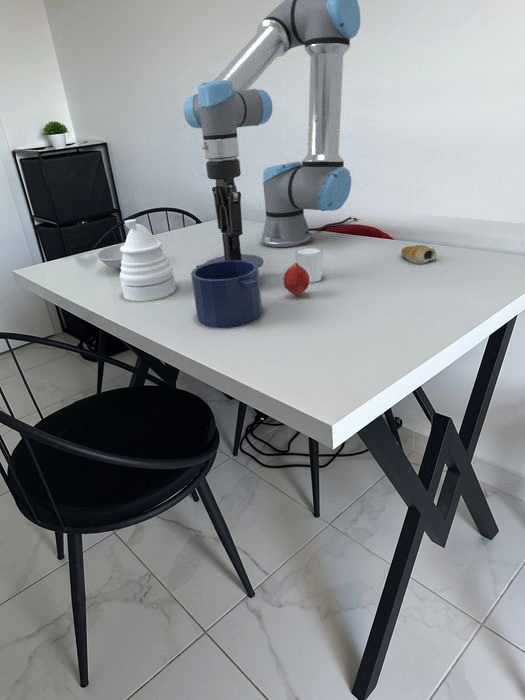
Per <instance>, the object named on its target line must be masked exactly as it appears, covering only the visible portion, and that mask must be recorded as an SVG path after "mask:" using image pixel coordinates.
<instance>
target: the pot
mask: <svg viewBox="0 0 525 700" xmlns="http://www.w3.org/2000/svg"><path fill="white" fill-rule="evenodd" d="M190 276H191V283H192V284H191V285H192V290H193V297H194V303H195V310H196V316H197V320H198V322H199V323H200V324H201V325H204V326H206V327H210V328H217V329H227V328H235V327H237V328H238V327H241V326H245V325H247V324H251V323H253V322H255V321H256V320H258V319H259V318H260V317H261V316H262V312H263V305H262V294H261V282H260V270H259V268H258V266H257V265H256V264H255V263H253V262H249V261H243V260H225V261H218V262H212V263H208V264H206V262H204V263H202V264H199V265H196V267H195V268H194V269H192V271H191V273H190Z"/></svg>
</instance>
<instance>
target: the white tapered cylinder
mask: <svg viewBox="0 0 525 700" xmlns="http://www.w3.org/2000/svg"><path fill="white" fill-rule="evenodd" d="M294 257H295V262H298V264H299V266H301V267H302V268H304V269H305V270H306V272H307V273H308V275H309V279H310V280H309V283H317V282H320V281H321V280H322V277H323V273H322V272H323V260H324V259H323V258H324V249H322V248H318V247H303V248H299V249H297V250H295V252H294Z"/></svg>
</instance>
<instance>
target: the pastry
mask: <svg viewBox="0 0 525 700" xmlns="http://www.w3.org/2000/svg"><path fill="white" fill-rule="evenodd" d="M400 254H401V255H402V257H403V258H404V259H405V260H406V261H408V262H410V263H413V264H418V265H419V264H420V265H423V264H426V263H428V262H432V261H434V260H435V259H436V258H437V251H436V249H435V248H434V247H429V246H427V245H423V244H421V245H419V244H418V245H410V246H405V247H403V248H401V251H400Z"/></svg>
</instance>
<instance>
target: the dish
mask: <svg viewBox="0 0 525 700" xmlns="http://www.w3.org/2000/svg"><path fill="white" fill-rule="evenodd" d="M123 245H125V243H120V244H115V245H111V246H108V247H105V248H102V249H100V250H99V251H97V253H95V258H96V259H98V260H100V261H101V262H102V263H103V264H105V265H107V266H108V267H111V268H115V269H116V268H117V269H121V266H122V264H121V261H122V257H123V253H122V252H121V251H120V248H121V246H123Z"/></svg>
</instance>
